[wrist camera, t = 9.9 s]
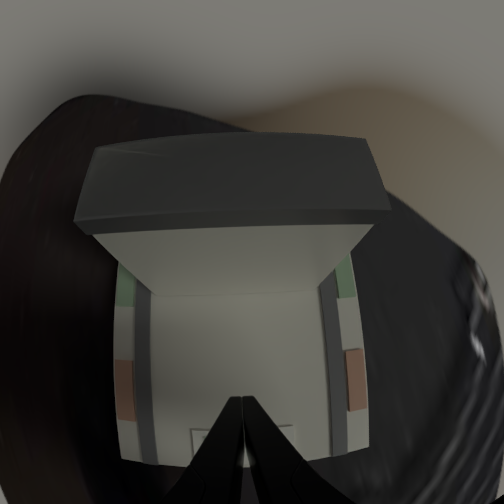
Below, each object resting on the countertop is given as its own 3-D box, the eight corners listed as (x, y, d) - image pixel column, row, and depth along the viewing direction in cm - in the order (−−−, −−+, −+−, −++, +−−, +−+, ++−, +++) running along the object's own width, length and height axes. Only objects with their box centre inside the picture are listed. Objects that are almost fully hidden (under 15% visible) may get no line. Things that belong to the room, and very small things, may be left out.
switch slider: (316, 291, 17) (391, 210, 8) (154, 297, 17) (73, 221, 7) (309, 245, 18) (365, 138, 9) (157, 250, 18) (95, 147, 9)
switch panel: (361, 442, 14) (370, 447, 13) (128, 453, 13) (119, 459, 12) (336, 218, 21) (342, 209, 20) (129, 226, 20) (123, 216, 19)
